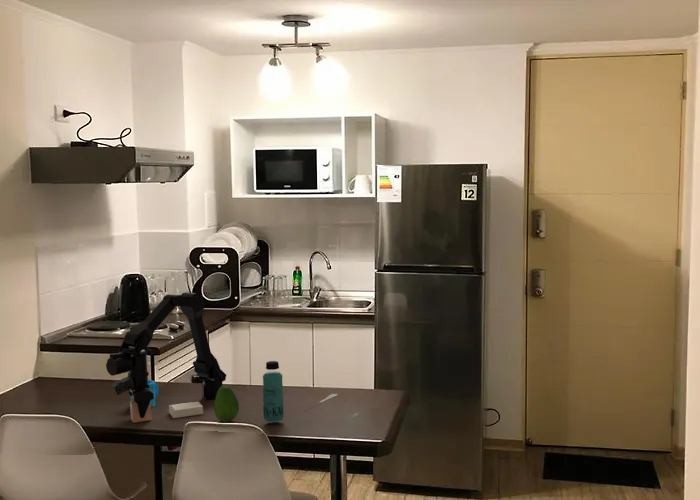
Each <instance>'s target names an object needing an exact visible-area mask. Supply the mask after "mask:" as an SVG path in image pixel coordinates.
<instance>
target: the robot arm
mask: <svg viewBox="0 0 700 500" xmlns="http://www.w3.org/2000/svg"><path fill="white" fill-rule="evenodd" d="M176 307H179V308H180V310H181V312H182V313H183V314H184V316H185V317H186V318H187V321H188V325H189V329H190V332H191V335H192V336H191V337H192V341H193V344H194V348H195V352H196V358H195V361H193V362H192V366H193V368H194V373H196V375H197V376H198V378H199V380H200V381H202V383H203V384H202V385H201V395H202V398H204V399H205V400H206V401H212V400H215V399H216V396H217V392H218V390H219V388H220V387H221V386H223V382H224V381H226V378H227V374H226V373H225V372H224V371H223V369H221V366H220V364H219V362H218V359H217V358H216V356H215V355H214V354H213V353H212V351H211V348H210V344H209V343H210V342H209V340H208V339H209V338H208V335H207V331H206V327H205V323H204V319H203V314H204V311H205V304H204V297H203V295H202V294H200V293H195V292H187V291H186V292H185V291H184V292H183V293H181V294H170V293H168V294H165V295H163V298H162V300H161V301H160V302H159V303H158V304H157V306H155V308H154V309H152V311H151V312H150V313H149V314H148V316H147V317H145V319H144V320H143V321H142V322H141V323H140V324H137V325H135V326H133V327H132V328H131V329H129V330H128V331H127V332H126V333H125V335H124V339H123V342H122V343H121V345H120V347H119V349H118V351H117V352H118V353H115V352H114V353H109V358H107V361H106V364H105V368H106V371H107V373H108V375H110V376H112V377H113V376H117V375H120V374H124V373H127V376H126V377H123V378H121V379H119V380H117V381H115V382H113V383H112V384H111V386H112V389H113V390H114V391H113V392H114V393H115V395H116V396H119V395H122V394H123V393H124V392H126V391H128V392H127V393H128V394H129V396H130V397H131V396H132V397H133V399H132V400H133V401H134V402H136V403H137V406H138V410H139V414H140V417H141V418H144V416H145V414H146V411H147V408H148V406H149V404H150V401H151V400H153V399H154V393H153V392H152V391H151V390H150V389H145V388H149V384H148V380H149V375H150V374H149V371H148V357H147V356H148V355H150V354H152V353H153V351H152V350H151V349H150V348H149V347H148V346H149V344H150V343H151V341H152V340H153V336H154V333H155V331H156V330H157V329H158V327H160V326H161V324H162V323H163V322H164V321H165V320H166V318H167V317H168V316H169V315H170V314H171V313H172V312H173V310H174V309H175V308H176Z"/></svg>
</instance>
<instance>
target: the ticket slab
mask: <svg viewBox="0 0 700 500" xmlns="http://www.w3.org/2000/svg"><path fill="white" fill-rule="evenodd" d="M168 413H169V415H170V416H171V417H172V418H173V419H177V418H183V417H189V416H197V415H203V414H204V406H203V405H202V404H201V402H199V401H192V402H191V401H190V402H184V403H182V402H181V403H177V404H176V403H175V404H169V405H168Z"/></svg>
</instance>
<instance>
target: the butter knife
mask: <svg viewBox="0 0 700 500" xmlns="http://www.w3.org/2000/svg"><path fill="white" fill-rule="evenodd" d="M336 396H338V393H331V394H329V395H328V396H327V397H325V398H324V399H322V400H320V401H319V403H324V402H325V401H327V400H330V399H333V398H334V397H336Z"/></svg>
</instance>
